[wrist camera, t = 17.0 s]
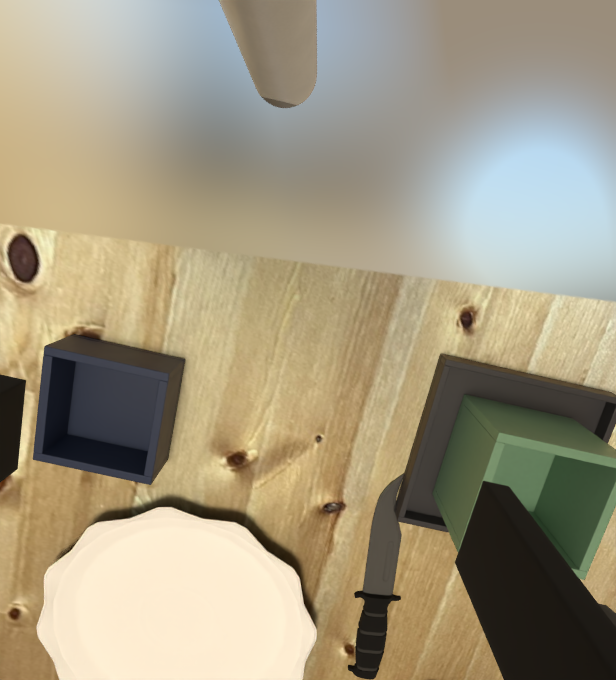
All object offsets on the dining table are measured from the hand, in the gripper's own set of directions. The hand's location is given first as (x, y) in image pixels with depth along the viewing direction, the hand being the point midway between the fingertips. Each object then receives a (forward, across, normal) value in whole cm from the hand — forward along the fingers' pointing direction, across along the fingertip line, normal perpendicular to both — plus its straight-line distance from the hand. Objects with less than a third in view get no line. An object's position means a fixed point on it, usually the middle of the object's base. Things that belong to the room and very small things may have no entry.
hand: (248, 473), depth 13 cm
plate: (+32, -5, -37) cm, 49 cm away
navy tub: (+32, -15, -13) cm, 37 cm away
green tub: (+31, +23, -10) cm, 40 cm away
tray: (+32, +23, -10) cm, 40 cm away
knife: (+33, +15, -27) cm, 45 cm away
